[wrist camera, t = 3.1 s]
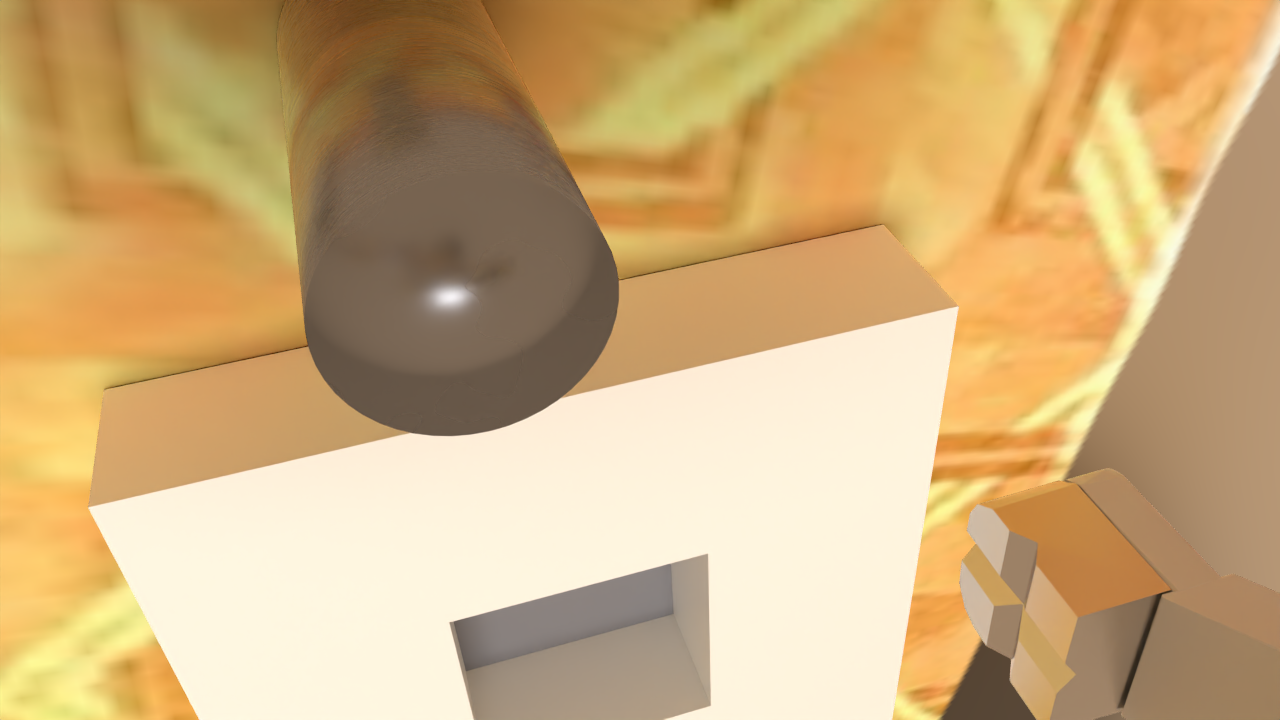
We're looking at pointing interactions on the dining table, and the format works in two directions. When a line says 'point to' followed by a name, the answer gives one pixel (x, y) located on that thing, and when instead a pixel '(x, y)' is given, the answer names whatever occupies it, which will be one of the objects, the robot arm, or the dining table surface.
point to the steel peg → (434, 219)
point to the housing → (559, 515)
